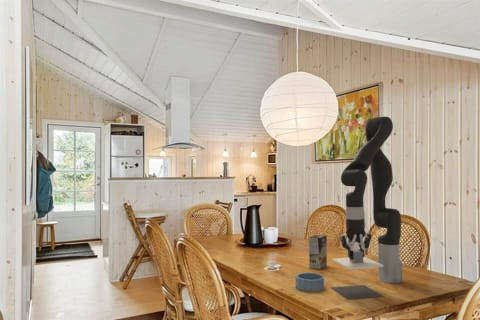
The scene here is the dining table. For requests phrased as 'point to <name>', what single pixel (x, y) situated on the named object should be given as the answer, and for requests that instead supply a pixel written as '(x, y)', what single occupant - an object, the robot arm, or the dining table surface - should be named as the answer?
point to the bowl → (310, 281)
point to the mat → (356, 292)
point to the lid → (357, 261)
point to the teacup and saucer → (272, 266)
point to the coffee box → (317, 251)
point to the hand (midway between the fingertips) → (356, 258)
